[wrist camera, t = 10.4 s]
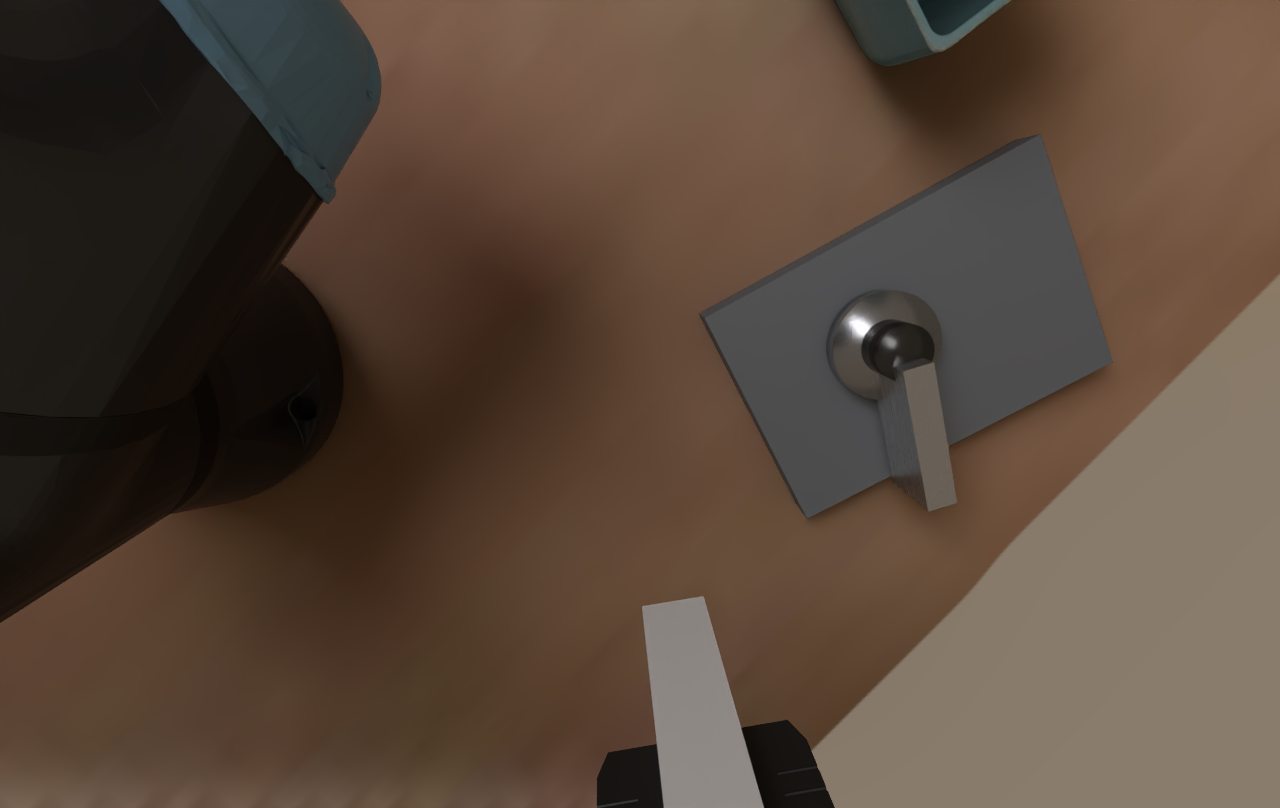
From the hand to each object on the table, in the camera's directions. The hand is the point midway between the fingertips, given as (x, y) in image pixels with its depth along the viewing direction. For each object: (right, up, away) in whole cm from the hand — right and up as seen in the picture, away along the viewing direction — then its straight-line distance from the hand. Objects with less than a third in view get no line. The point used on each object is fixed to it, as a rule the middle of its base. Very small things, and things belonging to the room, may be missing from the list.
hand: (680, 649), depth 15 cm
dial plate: (+15, +10, +21) cm, 28 cm away
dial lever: (+13, +7, +20) cm, 25 cm away
